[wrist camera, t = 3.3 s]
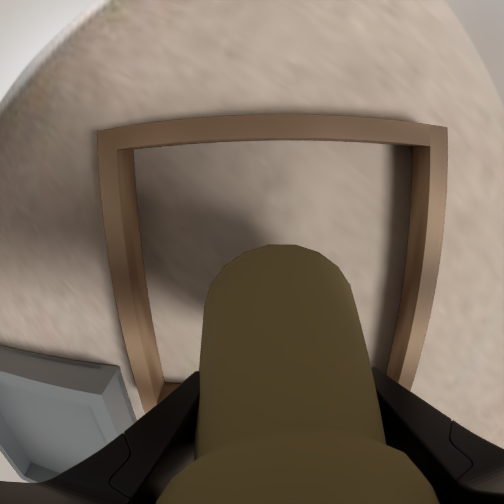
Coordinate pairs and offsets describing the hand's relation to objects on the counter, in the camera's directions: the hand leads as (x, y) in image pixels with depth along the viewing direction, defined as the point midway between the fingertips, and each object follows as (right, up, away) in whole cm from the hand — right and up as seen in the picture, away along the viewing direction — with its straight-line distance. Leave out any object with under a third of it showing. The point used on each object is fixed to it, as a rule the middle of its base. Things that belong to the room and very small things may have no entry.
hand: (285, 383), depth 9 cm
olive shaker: (0, +1, +4) cm, 4 cm away
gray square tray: (-18, -12, +13) cm, 26 cm away
